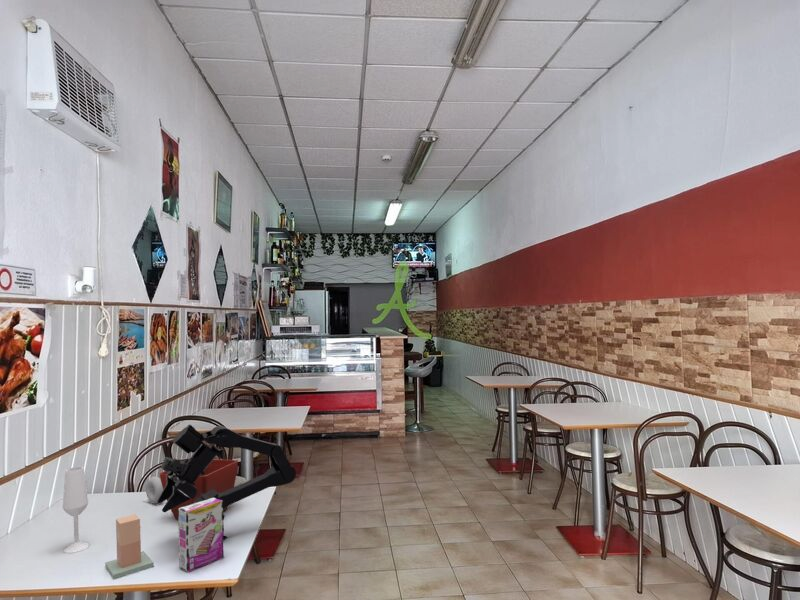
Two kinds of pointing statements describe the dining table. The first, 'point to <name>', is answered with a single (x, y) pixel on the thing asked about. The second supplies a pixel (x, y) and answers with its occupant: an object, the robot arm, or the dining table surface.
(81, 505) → the champagne flute
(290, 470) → the robot arm
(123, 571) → the base plate
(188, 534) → the candy bar box
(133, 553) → the peach rectangular block
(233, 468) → the plant pot
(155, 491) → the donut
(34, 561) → the dining table surface
